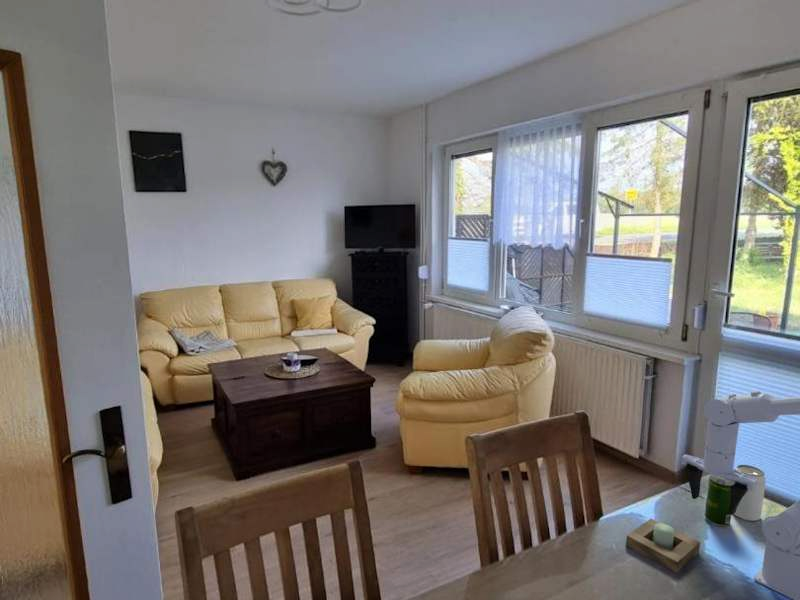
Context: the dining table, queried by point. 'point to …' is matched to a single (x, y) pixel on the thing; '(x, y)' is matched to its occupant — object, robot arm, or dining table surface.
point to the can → (751, 495)
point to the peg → (663, 535)
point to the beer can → (718, 501)
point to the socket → (670, 559)
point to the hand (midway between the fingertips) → (713, 504)
